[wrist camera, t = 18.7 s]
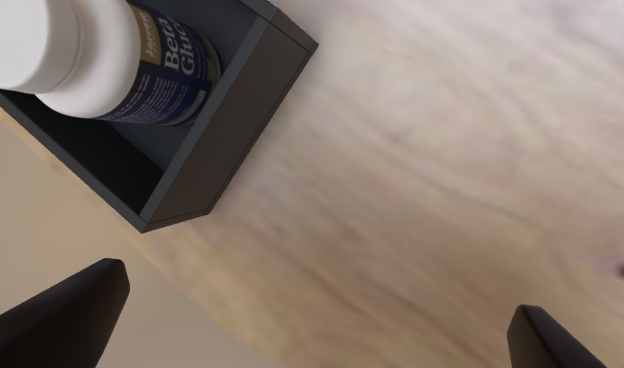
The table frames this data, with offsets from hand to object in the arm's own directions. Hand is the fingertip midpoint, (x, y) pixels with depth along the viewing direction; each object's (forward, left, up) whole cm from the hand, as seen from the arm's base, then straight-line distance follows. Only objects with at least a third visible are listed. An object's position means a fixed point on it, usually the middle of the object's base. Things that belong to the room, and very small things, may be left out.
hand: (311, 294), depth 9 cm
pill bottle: (-6, +12, -11) cm, 17 cm away
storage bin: (-6, +12, -12) cm, 18 cm away
